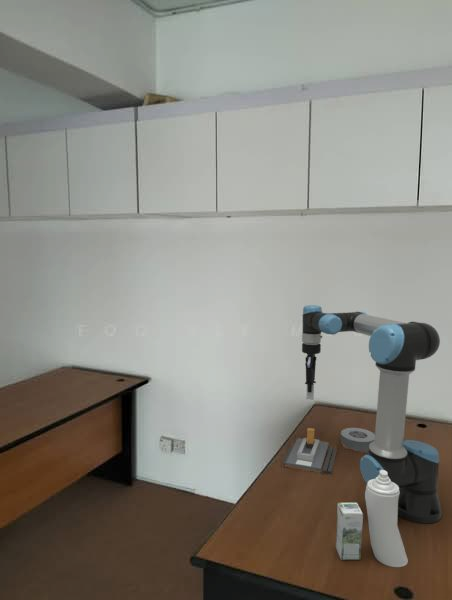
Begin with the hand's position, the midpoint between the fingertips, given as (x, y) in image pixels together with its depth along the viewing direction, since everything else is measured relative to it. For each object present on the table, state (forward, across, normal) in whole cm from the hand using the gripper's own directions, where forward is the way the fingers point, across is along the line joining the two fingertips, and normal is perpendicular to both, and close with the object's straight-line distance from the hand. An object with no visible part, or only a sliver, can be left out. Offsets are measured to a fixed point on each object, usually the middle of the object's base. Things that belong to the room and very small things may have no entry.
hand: (309, 399), depth 191 cm
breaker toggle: (+23, +6, 0) cm, 24 cm away
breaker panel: (+26, +1, -1) cm, 26 cm away
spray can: (+26, -55, -31) cm, 68 cm away
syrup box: (+26, -58, -21) cm, 67 cm away
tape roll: (+26, +21, -19) cm, 38 cm away
